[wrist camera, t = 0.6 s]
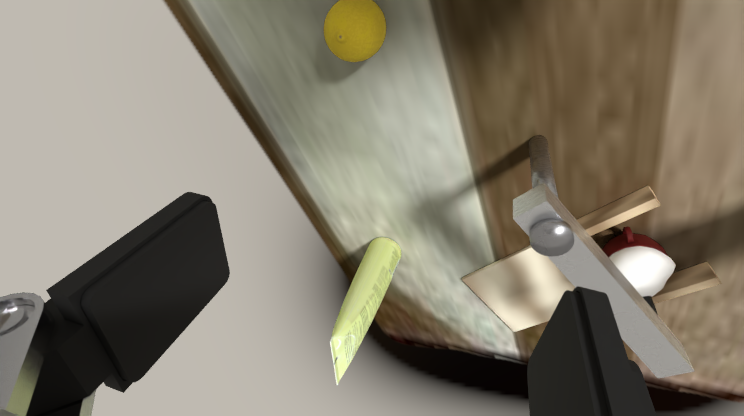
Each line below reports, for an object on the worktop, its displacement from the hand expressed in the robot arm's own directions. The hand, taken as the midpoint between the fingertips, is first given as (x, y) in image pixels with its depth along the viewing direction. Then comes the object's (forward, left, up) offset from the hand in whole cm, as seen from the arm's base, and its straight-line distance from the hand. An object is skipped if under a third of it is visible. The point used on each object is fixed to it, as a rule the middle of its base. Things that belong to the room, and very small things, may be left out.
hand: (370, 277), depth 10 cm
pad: (+14, +29, -33) cm, 46 cm away
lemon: (+6, -9, -33) cm, 35 cm away
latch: (+1, +20, -33) cm, 38 cm away
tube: (+26, +13, -33) cm, 44 cm away
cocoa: (+1, +29, -33) cm, 44 cm away
